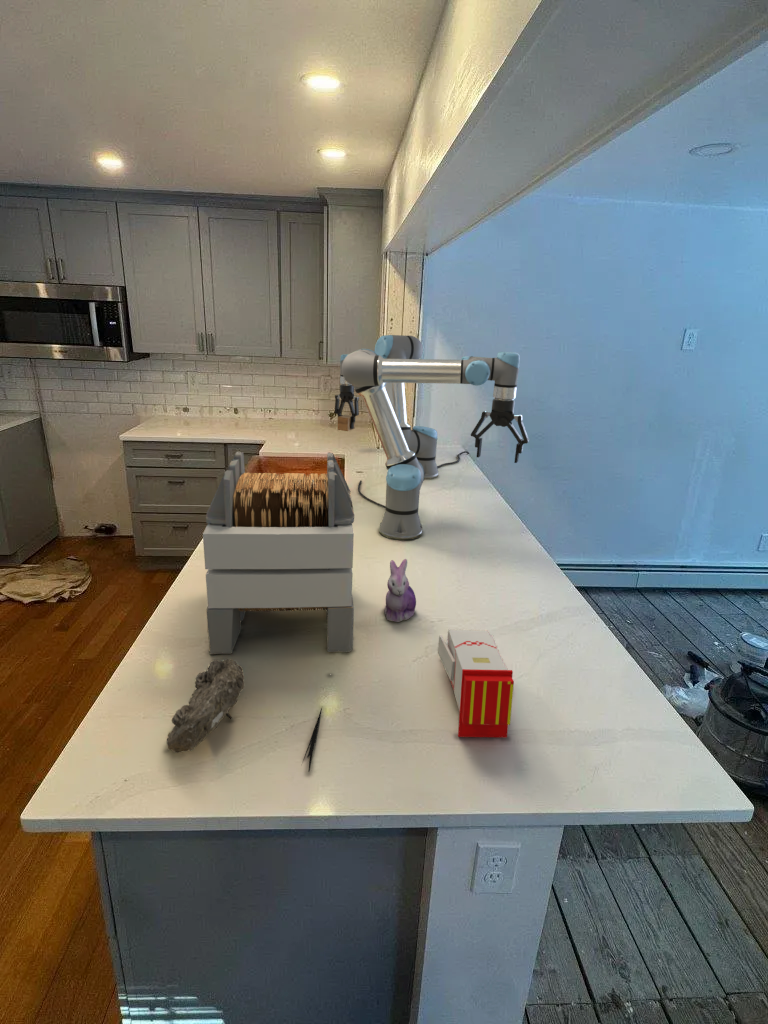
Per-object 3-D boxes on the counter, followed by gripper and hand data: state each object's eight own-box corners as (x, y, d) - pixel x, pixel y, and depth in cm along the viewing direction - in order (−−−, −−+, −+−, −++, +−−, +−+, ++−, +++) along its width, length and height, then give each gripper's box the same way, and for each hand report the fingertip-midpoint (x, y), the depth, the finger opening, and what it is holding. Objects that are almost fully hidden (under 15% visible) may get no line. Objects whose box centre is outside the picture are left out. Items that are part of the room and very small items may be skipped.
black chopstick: (331, 679, 122) (336, 673, 122) (307, 777, 96) (313, 769, 95) (324, 675, 122) (329, 669, 121) (298, 772, 95) (304, 764, 95)
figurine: (392, 627, 141) (395, 572, 136) (374, 608, 149) (376, 556, 144) (425, 619, 145) (429, 566, 140) (405, 601, 154) (408, 550, 149)
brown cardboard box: (347, 431, 304) (347, 418, 301) (337, 429, 306) (337, 416, 304) (354, 428, 311) (355, 415, 309) (344, 427, 313) (345, 414, 311)
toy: (488, 613, 130) (523, 677, 101) (484, 667, 133) (517, 744, 104) (435, 612, 130) (455, 676, 101) (432, 666, 133) (451, 743, 103)
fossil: (192, 660, 117) (244, 628, 112) (224, 691, 120) (276, 661, 115) (142, 746, 98) (202, 712, 93) (182, 779, 101) (242, 748, 96)
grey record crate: (229, 585, 158) (221, 442, 144) (346, 584, 161) (350, 444, 148) (206, 656, 126) (193, 481, 112) (353, 652, 130) (358, 483, 116)
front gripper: (542, 401, 193) (534, 462, 200) (471, 394, 202) (466, 452, 209) (538, 404, 186) (530, 466, 193) (465, 396, 195) (460, 456, 203)
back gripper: (366, 385, 300) (365, 428, 308) (334, 382, 307) (334, 424, 315) (360, 386, 294) (359, 430, 301) (327, 383, 301) (327, 426, 309)
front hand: (497, 459), depth 201 cm, fingers open, 13 cm apart
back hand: (346, 427), depth 308 cm, fingers closed on brown cardboard box, 6 cm apart
